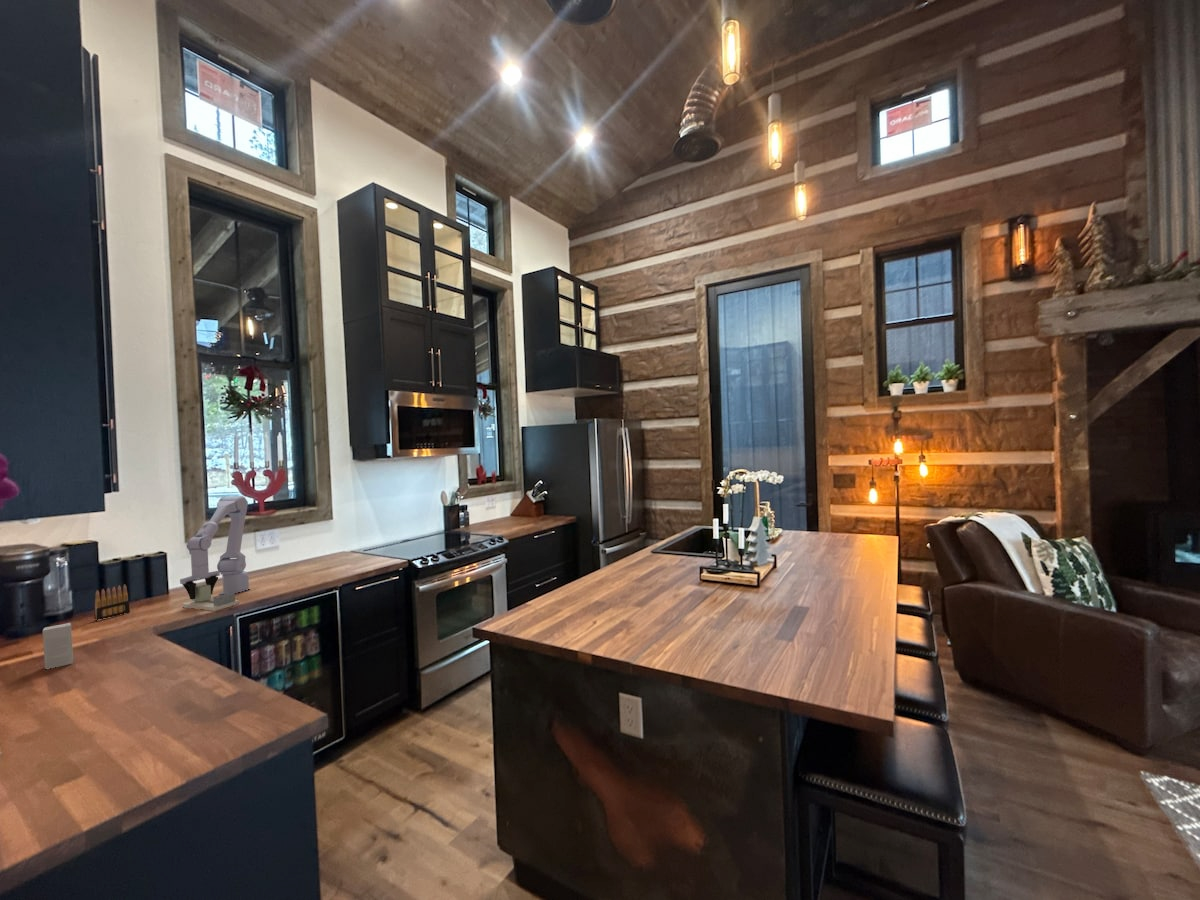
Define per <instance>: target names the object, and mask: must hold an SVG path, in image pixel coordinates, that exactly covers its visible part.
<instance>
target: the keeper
mask: <svg viewBox="0 0 1200 900" xmlns="http://www.w3.org/2000/svg"><path fill="white" fill-rule="evenodd" d="M211 598H212V594H211V585H206V584H202V583H200V584H196V587H195V599H191V602H192V601H198V602H202V601H206V600H210V599H211Z"/></svg>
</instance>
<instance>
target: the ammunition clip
mask: <svg viewBox="0 0 1200 900" xmlns="http://www.w3.org/2000/svg"><path fill="white" fill-rule="evenodd" d="M127 588H128V587H127V585H126V584H125V583H124V584H123V587H121V585H118V587H117V589H116V587H115V586H113V587H112V588H110V587H107V589H106V591H105V589H104V588H102V589H101V591H100V592H101V593H100V592H99V590H98V589H96V591H95V600H94V615H93V616H94V617H93V618H94V619H97V620H98V619H103V618H108V617H112V616H116V615H120V614H124V613H127V614H129V613H128V612H130V613H131V611H130V601H129V594H128V589H127ZM111 589H112V590H111ZM116 590H117V591H116ZM124 615H125V614H124ZM120 616H121V615H120ZM116 617H117V616H116ZM112 618H113V617H112ZM94 619H93V620H94ZM108 619H109V618H108Z"/></svg>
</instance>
